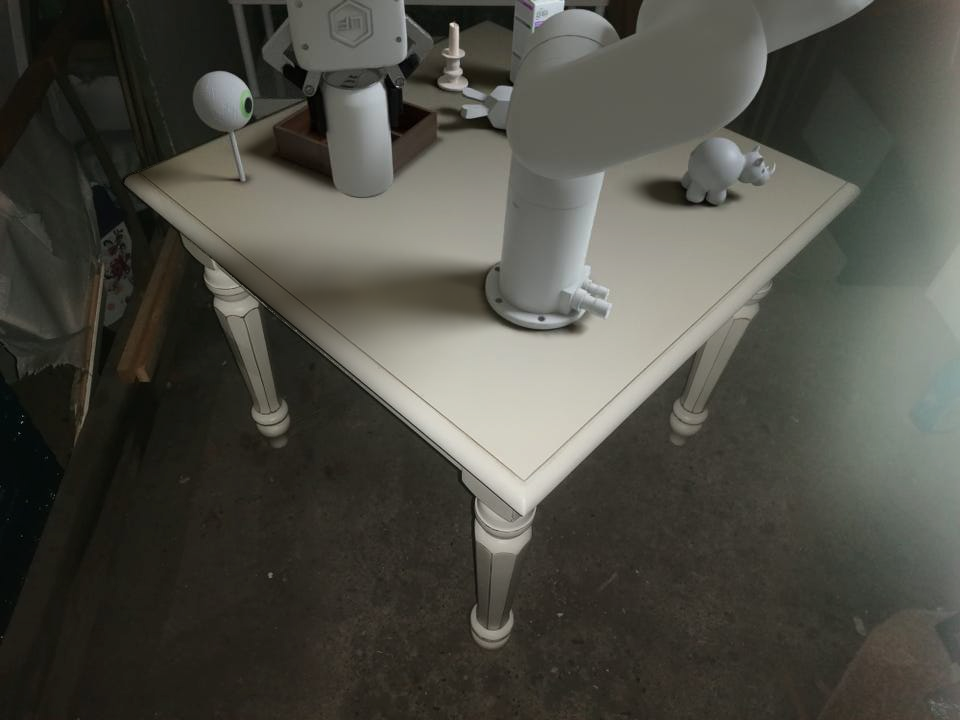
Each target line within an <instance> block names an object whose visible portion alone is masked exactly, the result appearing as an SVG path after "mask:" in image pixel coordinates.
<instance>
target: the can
mask: <svg viewBox="0 0 960 720" xmlns="http://www.w3.org/2000/svg"><path fill="white" fill-rule="evenodd" d="M322 79H323V83H322V85H321V87H320V90H321V94H322V99H323V106H324V113H325V120H326V127H327V132H326V134H327V141H328V148H329V155H330V162H331V168H332V175H333V177H332V181H333V185H334V186H335V188H336V189H337V190H338V191H339V192H341V193H342V194H343V195H345V196H347V197H351V198H355V199H368V198H374V197H377V196H380V195H382V194H384V193H385V192H386V191H388V189H389V188H391V186H392V184H393V182H394V175H393V164H392V148H391V133H390V119H389V104H388V93H387V87H386V85H385V83H384V79H383V73H382V70H381V68H380V67H378V68H367V69H355V70H343V71H330V72H322Z"/></svg>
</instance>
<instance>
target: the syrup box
mask: <svg viewBox="0 0 960 720" xmlns="http://www.w3.org/2000/svg"><path fill="white" fill-rule="evenodd" d="M564 8H565V0H515V3H514V15H513V16H514V17H513V29H512V30H513V31H512V43H511V44H512V45H511V57H510V71H509V81H510V82H512V83H513V84H514V82H515V77H516V73H517V70H518V66H519V63H520V60H521V57H522V54H523V51H524V48H525V46H526V44H527V42H528V40H529V39H530V37H531V35H532V34H533V33H534V31H535V30H536V29H537V28H538V27H539V26H540V25H541V24H542V23H543V22H544V21H545V20H547V19H548V18H549V17H551V16H553V15H555V14H557V13H559V12H562V11H565V9H564Z"/></svg>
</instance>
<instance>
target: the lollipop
mask: <svg viewBox="0 0 960 720" xmlns="http://www.w3.org/2000/svg"><path fill="white" fill-rule="evenodd" d="M192 92H193V93H192V103H193V106H194V110H195V112H196V114H197V116H198V117H199V119H200V120H201V121H202V122H203V123H204V124H205V125H207V126H208V127H210V128H211V129H212V130H213V129H214V130H216V131H219V132H225V133H226V132H227V133H228V137H229V141H230V145H231V149H232V152H233V157H234V161H235V165H236V169H237V172H238V177H239V181H240V182H245V181H246V177H245V173H244V167H243V164H242V160H241V156H240V152H239V148H238V144H237V139H236V136H235V133H234V131H238V130H239V129H242V128H243V127H244V126H246V124H247V123H248V122H249V121H250V119H251V118H252V115H253V111H254V100H253V96H252V93H251V90H250V89H249V87H248V86H247V85H246V83H245V82H244V81H243V80H242V79H241V78H239V76H237V75H235V74H233V73H231V72H228V71H224V70H223V71H222V70H217V71H216V70H215V71H211V72H208V73H205V74H204V75H203V76H202V77H200V78H199V79H198V80H197V82H196V83H195V86H194V88H193V91H192Z"/></svg>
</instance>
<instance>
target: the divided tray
mask: <svg viewBox="0 0 960 720" xmlns="http://www.w3.org/2000/svg"><path fill="white" fill-rule="evenodd" d="M271 128H272V131H273V136H274V142H275V146H276V152H277V155H278V156H281V157H283V158H286V159H288V160H291V161H293V162H295V163H298V164H300V165H303V166H305V167H308V168H310V169H312V170H314V171H318V172H320V173H322V174H325V175H327V176H329V177H332V178H333V175H332V168H331V162H330V155H329V148H328V141H327V134H326V133H325V134H321V135H320V131H319V127H318V123H317V122H315V123H311V121H310V116H309V110H308V104H306V105H304V106H303V107H301V108H299V109H298V110H297V111H294V112H293V113H292V114H290V115H288V116H286V117H285V118H284V119H282V120H280V121H279V122H277V123H275V124H274V125H272V127H271ZM390 133H391V148H392V164H393V176H394V175H395V174H396V173H398V172H399V171H400V170H402V169H403V168H404V167H405V166H407V165H408V164H409V163H410V162H412V160H414V159H415V158H416V157H417V156H419V155H420V154H422V152H423V151H425V150H426V149H427V148H428V147H430V146H431V145H432V144H434V143H435V142H436V141H437V140H438V112H437V111H434V110H432V109H429V108H427V107H423V106H420V105H417V104H415V103H411V102H408V101H406V100H403V114H398V127H393V126H391V124H390Z"/></svg>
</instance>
